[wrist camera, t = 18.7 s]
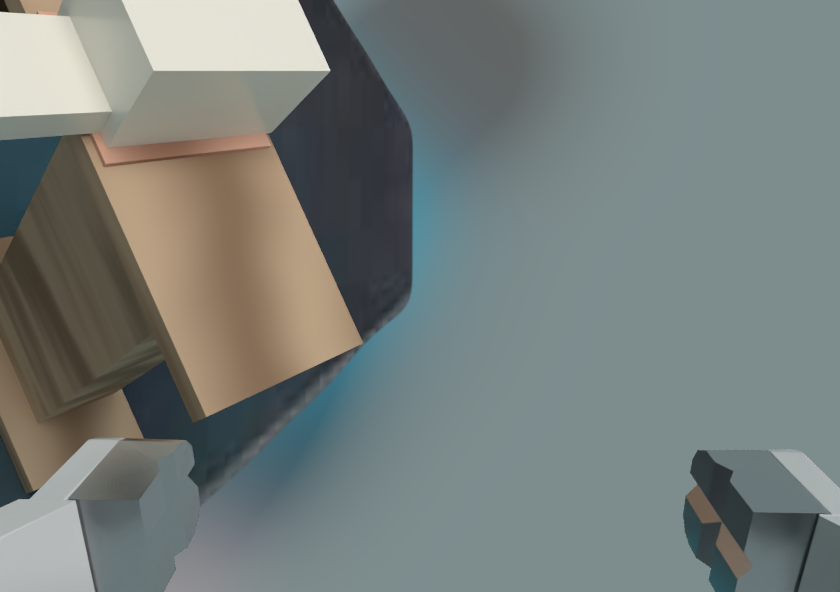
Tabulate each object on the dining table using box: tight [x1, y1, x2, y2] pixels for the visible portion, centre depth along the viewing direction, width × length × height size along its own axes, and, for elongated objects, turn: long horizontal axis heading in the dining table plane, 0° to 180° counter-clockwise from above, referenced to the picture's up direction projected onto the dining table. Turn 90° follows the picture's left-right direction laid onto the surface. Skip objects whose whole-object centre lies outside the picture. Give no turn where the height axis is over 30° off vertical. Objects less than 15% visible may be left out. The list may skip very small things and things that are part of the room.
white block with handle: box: [0, 0, 330, 148], centre depth 16 cm, size 14×4×4 cm, turn 123°
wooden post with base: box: [0, 0, 363, 494], centre depth 29 cm, size 6×15×26 cm, turn 33°
